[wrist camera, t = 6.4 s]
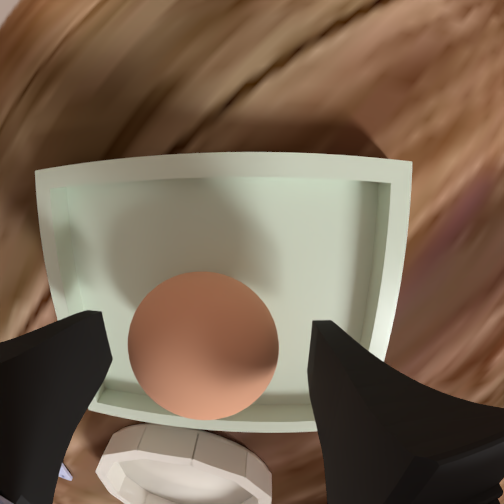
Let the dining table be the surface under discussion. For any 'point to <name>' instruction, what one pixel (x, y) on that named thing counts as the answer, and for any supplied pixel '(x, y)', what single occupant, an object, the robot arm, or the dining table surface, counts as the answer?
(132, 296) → the tray
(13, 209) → the dining table surface
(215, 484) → the dish
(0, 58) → the dining table surface
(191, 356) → the ball
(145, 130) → the dining table surface
